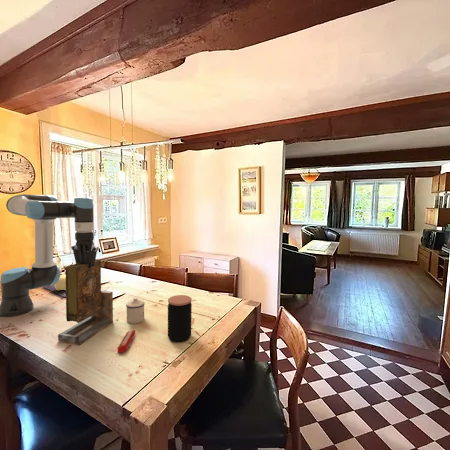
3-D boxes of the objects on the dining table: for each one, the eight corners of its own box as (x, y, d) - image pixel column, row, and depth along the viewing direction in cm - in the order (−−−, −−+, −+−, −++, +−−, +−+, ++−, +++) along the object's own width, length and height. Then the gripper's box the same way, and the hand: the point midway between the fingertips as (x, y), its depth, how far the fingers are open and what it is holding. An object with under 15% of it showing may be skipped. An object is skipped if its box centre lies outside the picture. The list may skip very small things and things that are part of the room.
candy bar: (128, 334, 119) (127, 328, 118) (136, 334, 119) (136, 328, 119) (116, 354, 103) (116, 347, 102) (125, 354, 103) (125, 347, 103)
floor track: (58, 341, 111) (57, 306, 110) (94, 319, 132) (93, 289, 131) (79, 345, 109) (78, 309, 107) (113, 322, 130) (112, 291, 129)
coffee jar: (180, 329, 124) (181, 293, 123) (196, 336, 118) (196, 298, 116) (162, 337, 116) (162, 299, 115) (178, 346, 109) (178, 305, 108)
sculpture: (73, 285, 185) (72, 271, 184) (74, 290, 175) (74, 275, 174) (54, 288, 178) (53, 273, 178) (54, 293, 169) (54, 277, 168)
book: (93, 308, 128) (92, 259, 126) (102, 309, 126) (102, 259, 124) (66, 322, 112) (65, 266, 110) (76, 324, 110) (76, 267, 108)
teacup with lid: (147, 320, 132) (147, 299, 131) (129, 325, 126) (129, 303, 125) (138, 313, 141) (138, 292, 140) (122, 317, 136) (121, 296, 135)
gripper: (65, 231, 114) (67, 283, 116) (90, 233, 111) (92, 285, 113) (78, 230, 121) (79, 278, 123) (102, 231, 118) (103, 280, 120)
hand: (85, 281), depth 118 cm, fingers closed
